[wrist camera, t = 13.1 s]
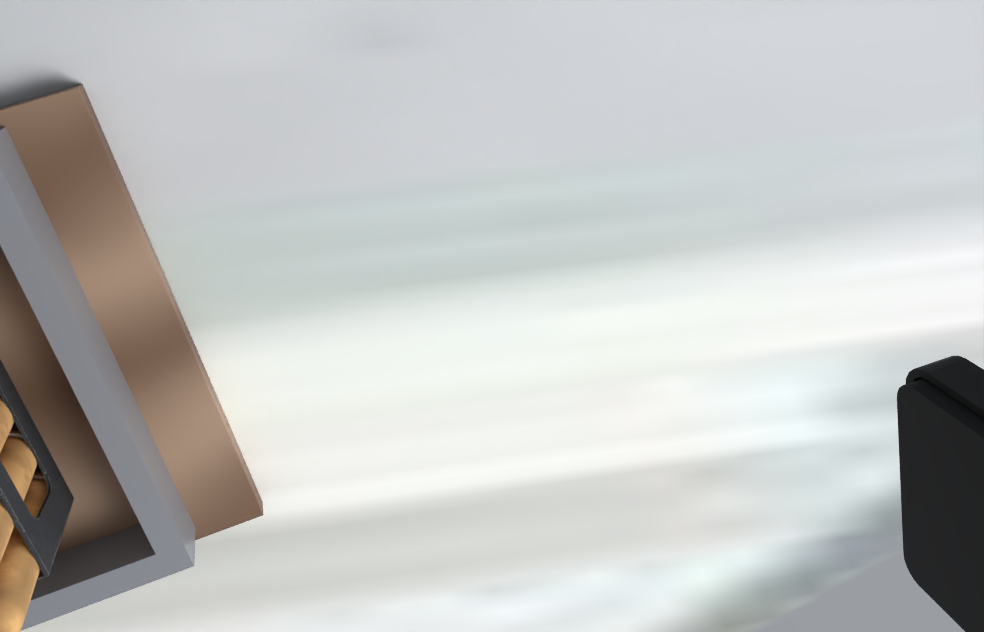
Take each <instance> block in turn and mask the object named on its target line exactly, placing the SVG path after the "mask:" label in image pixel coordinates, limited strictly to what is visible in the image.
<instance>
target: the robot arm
mask: <svg viewBox="0 0 984 632" xmlns="http://www.w3.org/2000/svg"><path fill="white" fill-rule="evenodd" d="M897 409H898V433H899V456H900V480H901V504H902V528H903V551H904V559H905V562H906V565H907V568H908V570H909V572H910V574H911V575H912V577H913V579H914V580H915V581H916V583H917V584H918V585H919V586H920V587H921V588H922V589H923V590H924V591H925V592H926V593H927V594H928V595H929V596H930V597H931V598H932V599H933V600H934V601H935V602H936V603H937V604H938V605H939V606H940V607H941V608H942V609H943V610H944V611H945V612H946V613H947V614H948V615H949V616H950V617H951V618H952V619H953V620H954V621H955V622H956V623H957V624H958V625H959V626H960V627H961V628H962V629H964V631H965V632H984V370H983V369H982V368H980V367H978V366H977V365H975V364H974V363H972V362H970V361H969V360H967V359H965V358H963V357H960V356H951V357H948V358H945V359H942V360H939V361H936V362H933V363H930V364H927V365H924V366H921V367H919V368H916V369H913V370H912V371H910V372H909V374H908V376H907V378H906V385H903V386H901V387H900V388H899V390H898V393H897Z"/></svg>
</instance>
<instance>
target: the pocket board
mask: <svg viewBox="0 0 984 632" xmlns="http://www.w3.org/2000/svg"><path fill="white" fill-rule="evenodd" d="M0 359H1V361H2V363H3V365H4V367H5V369H6V370H7V372H8V374H9V376H10V378H11V380H12V382H13V384H14V386H15V387H16V389H17V391H18V393H19V395H20V397H21V399H22V401H23V402H24V404H25V406H26V408H27V410H28V412H29V414H30V416H31V418H32V419H33V421H34V423H35V425H36V427H37V429H38V431H39V433H40V435H41V436H42V438H43V440H44V442H45V444H46V446H47V448H48V450H49V451H50V453H51V455H52V457H53V459H54V461H55V463H56V465H57V467H58V468H59V470H60V472H61V474H62V476H63V478H64V480H65V482H66V484H67V485H68V487H69V489H70V491H71V493H72V495H73V497H74V501H73V504H72V507H71V510H70V513H69V516H68V519H67V523H66V526H65V529H64V532H63V535H62V538H61V541H60V544H59V547H58V550H57V553H56V556H55V559H54V562H53V565H52V568H51V572H50V575H49V576H48V577H47V578H44V579H42V580H39V579H38V578H37V581H36V584H35V587H34V591H33V594H32V597H31V601H30V604H29V607H28V610H27V614H26V617H25V620H24V623H23V625H22V628H21V630H24V629H27V628H29V627H32V626H35V625H37V624H40V623H43V622H45V621H48V620H51V619H53V618H56V617H59V616H61V615H64V614H67V613H69V612H72V611H75V610H78V609H80V608H83V607H86V606H88V605H91V604H94V603H96V602H99V601H102V600H104V599H107V598H110V597H112V596H115V595H118V594H120V593H123V592H126V591H128V590H131V589H134V588H136V587H139V586H142V585H144V584H147V583H150V582H152V581H155V580H158V579H160V578H163V577H166V576H169V575H171V574H174V573H177V572H179V571H182V570H185V569H187V568H190V567H193V566H194V554H195V540H197V539H200V538H203V537H205V536H208V535H211V534H213V533H216V532H219V531H222V530H224V529H227V528H230V527H232V526H235V525H238V524H240V523H243V522H246V521H249V520H251V519H254V518H257V517H259V516H262V515H263V504H262V500H261V498H260V495H259V493H258V491H257V488H256V486H255V484H254V481H253V479H252V477H251V474H250V472H249V470H248V467H247V465H246V463H245V460H244V458H243V456H242V453H241V451H240V449H239V446H238V444H237V442H236V440H235V437H234V435H233V433H232V430H231V428H230V426H229V423H228V421H227V419H226V416H225V414H224V412H223V409H222V407H221V405H220V402H219V400H218V398H217V395H216V393H215V391H214V388H213V386H212V384H211V382H210V379H209V377H208V375H207V372H206V370H205V368H204V365H203V363H202V361H201V358H200V356H199V354H198V351H197V349H196V347H195V344H194V342H193V340H192V337H191V335H190V333H189V330H188V328H187V326H186V324H185V321H184V319H183V317H182V314H181V312H180V310H179V307H178V305H177V303H176V300H175V298H174V296H173V293H172V291H171V289H170V286H169V284H168V282H167V279H166V277H165V275H164V272H163V270H162V268H161V266H160V263H159V261H158V259H157V256H156V254H155V252H154V249H153V247H152V245H151V242H150V240H149V238H148V235H147V233H146V231H145V228H144V226H143V224H142V221H141V219H140V217H139V214H138V212H137V210H136V208H135V205H134V203H133V201H132V198H131V196H130V194H129V191H128V189H127V187H126V184H125V182H124V180H123V177H122V175H121V173H120V170H119V168H118V166H117V163H116V161H115V159H114V156H113V154H112V152H111V150H110V147H109V145H108V143H107V140H106V138H105V136H104V133H103V131H102V129H101V126H100V124H99V122H98V119H97V117H96V115H95V112H94V110H93V108H92V105H91V103H90V101H89V98H88V96H87V94H86V92H85V89H84V87H83V85H82V84H81V85H77V86H74V87H70V88H67V89H64V90H60V91H57V92H53V93H50V94H47V95H43V96H40V97H36V98H33V99H29V100H26V101H23V102H19V103H16V104H12V105H9V106H6V107H2V108H0ZM40 572H41V569H40V571H39V574H40ZM39 574H38V577H39Z"/></svg>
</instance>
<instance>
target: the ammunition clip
mask: <svg viewBox="0 0 984 632" xmlns="http://www.w3.org/2000/svg"><path fill="white" fill-rule="evenodd" d="M73 501H74V497H73V495H72V493H71V491H70V489H69V487H68V485H67V484H66V482H65V480H64V478H63V476H62V474H61V472H60V470H59V468H58V467H57V465H56V463H55V461H54V459H53V457H52V455H51V453H50V451H49V450H48V448H47V446H46V444H45V442H44V440H43V438H42V436H41V435H40V433H39V431H38V429H37V427H36V425H35V423H34V421H33V419H32V418H31V416H30V414H29V412H28V410H27V408H26V406H25V404H24V402H23V401H22V399H21V397H20V395H19V393H18V391H17V389H16V387H15V386H14V384H13V382H12V380H11V378H10V376H9V374H8V372H7V370H6V369H5V367H4V365H3V363H2V361H1V359H0V632H20V631H21V628H22V625H23V623H24V620H25V617H26V614H27V610H28V607H29V604H30V601H31V597H32V594H33V591H34V587H35V584H36V581H37V578H38V579H39V580H42V579H44V578H47V577H48V576H49V575H50V572H51V568H52V565H53V562H54V559H55V556H56V553H57V550H58V547H59V544H60V541H61V538H62V535H63V532H64V529H65V526H66V523H67V519H68V516H69V513H70V510H71V507H72V504H73ZM40 569H41V572H40V574H39V571H40ZM38 574H39V577H38Z"/></svg>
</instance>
